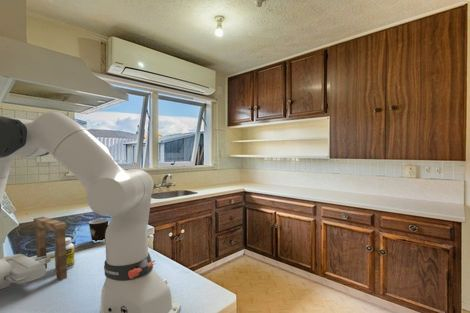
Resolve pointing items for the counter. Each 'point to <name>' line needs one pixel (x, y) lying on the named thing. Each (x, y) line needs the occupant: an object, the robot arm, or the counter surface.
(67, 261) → the pill bottle
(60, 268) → the walnut archway
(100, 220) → the coffee mug
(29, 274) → the robot arm
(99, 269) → the counter surface
